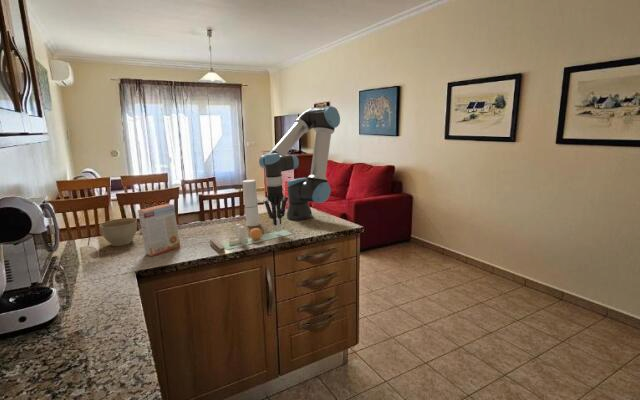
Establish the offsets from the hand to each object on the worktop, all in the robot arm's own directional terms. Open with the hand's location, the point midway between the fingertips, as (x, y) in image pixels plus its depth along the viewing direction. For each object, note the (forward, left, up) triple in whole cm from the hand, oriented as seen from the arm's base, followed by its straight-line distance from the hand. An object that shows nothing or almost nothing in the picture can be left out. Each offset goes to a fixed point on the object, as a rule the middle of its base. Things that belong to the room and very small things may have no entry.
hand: (277, 230), depth 174 cm
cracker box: (+52, -14, -2) cm, 54 cm away
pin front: (+17, 0, -1) cm, 17 cm away
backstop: (+31, 0, -2) cm, 31 cm away
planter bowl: (+67, -40, -2) cm, 78 cm away
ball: (+12, +1, +1) cm, 12 cm away
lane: (+11, 0, -2) cm, 11 cm away
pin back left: (+19, +2, -2) cm, 20 cm away
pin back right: (+19, -2, -2) cm, 20 cm away
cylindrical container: (+3, -26, -2) cm, 26 cm away
